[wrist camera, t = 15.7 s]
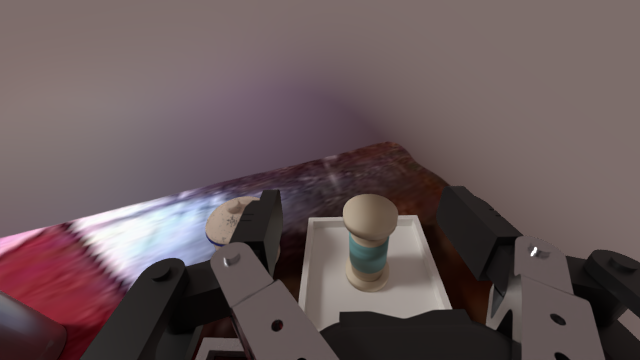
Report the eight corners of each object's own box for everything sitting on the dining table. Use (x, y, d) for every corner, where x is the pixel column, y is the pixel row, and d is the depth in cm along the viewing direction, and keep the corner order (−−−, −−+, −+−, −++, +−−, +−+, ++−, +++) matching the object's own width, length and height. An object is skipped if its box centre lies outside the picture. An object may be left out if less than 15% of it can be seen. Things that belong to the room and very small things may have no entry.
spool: (346, 292, 31) (343, 233, 24) (344, 253, 36) (342, 194, 29) (392, 292, 31) (403, 232, 24) (384, 253, 36) (392, 193, 28)
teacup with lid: (293, 247, 39) (279, 194, 32) (252, 293, 33) (225, 241, 26) (245, 221, 45) (225, 171, 38) (203, 256, 39) (170, 205, 32)
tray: (297, 344, 28) (294, 336, 26) (310, 227, 42) (308, 217, 40) (457, 349, 26) (464, 340, 24) (414, 225, 40) (416, 215, 39)
